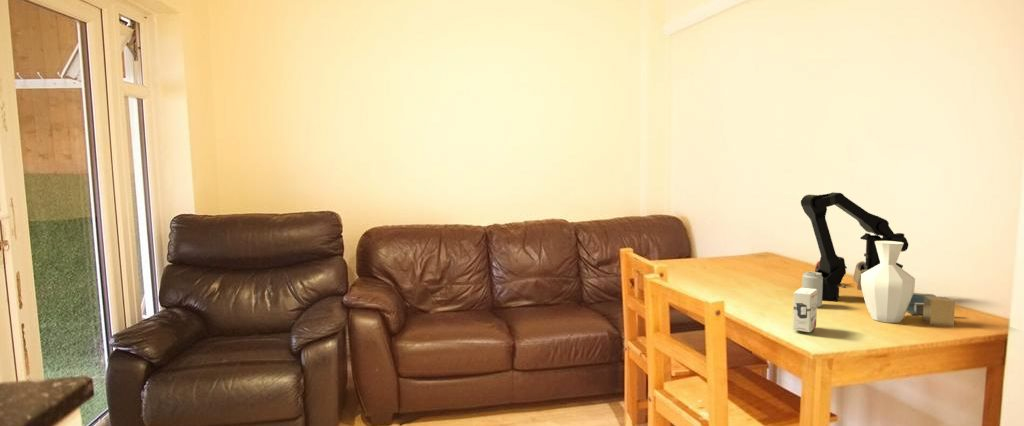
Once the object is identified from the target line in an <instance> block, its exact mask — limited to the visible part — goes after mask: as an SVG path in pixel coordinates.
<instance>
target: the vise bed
mask: <svg viewBox="0 0 1024 426" xmlns="http://www.w3.org/2000/svg"><path fill="white" fill-rule="evenodd" d="M906 313H908V314H910V315H911V316H913V317H916V316H917V317H923V314H916V313H914V304H909V305H908V308H907V311H906Z"/></svg>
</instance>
